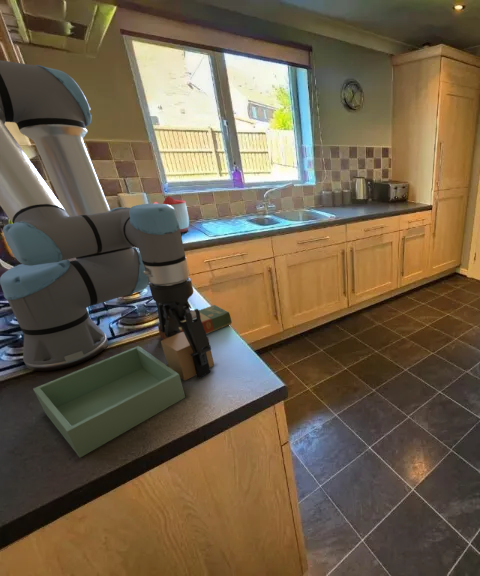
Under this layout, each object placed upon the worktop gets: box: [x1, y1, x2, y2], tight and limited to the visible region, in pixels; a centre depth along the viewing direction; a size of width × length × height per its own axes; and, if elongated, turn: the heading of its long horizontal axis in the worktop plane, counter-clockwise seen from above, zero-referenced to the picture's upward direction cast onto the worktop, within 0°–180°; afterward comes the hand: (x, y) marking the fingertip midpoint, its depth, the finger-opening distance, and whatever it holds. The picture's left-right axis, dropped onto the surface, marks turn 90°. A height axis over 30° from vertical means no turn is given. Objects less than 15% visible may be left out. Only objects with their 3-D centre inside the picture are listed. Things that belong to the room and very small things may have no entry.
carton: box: [157, 304, 232, 340], centre depth 92 cm, size 8×16×4 cm, turn 144°
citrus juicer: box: [153, 196, 190, 233], centre depth 186 cm, size 16×17×20 cm
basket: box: [32, 345, 186, 458], centre depth 65 cm, size 18×18×6 cm
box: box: [160, 332, 215, 381], centre depth 76 cm, size 7×7×8 cm
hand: (191, 366), depth 78 cm, fingers open, 9 cm apart
